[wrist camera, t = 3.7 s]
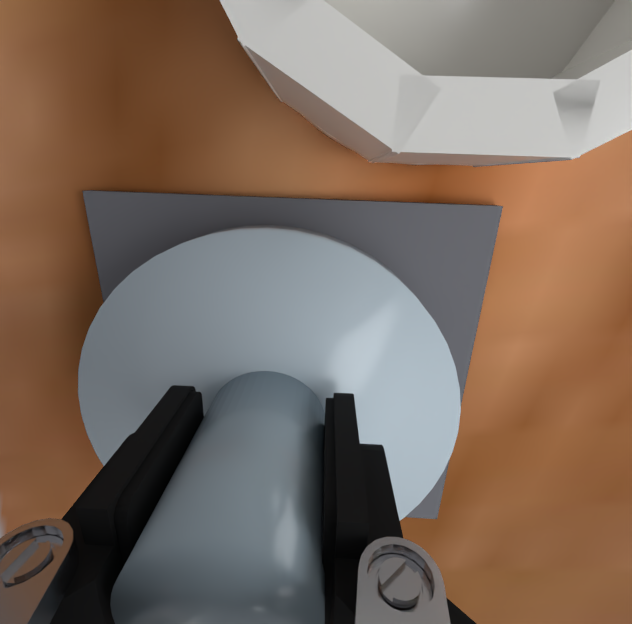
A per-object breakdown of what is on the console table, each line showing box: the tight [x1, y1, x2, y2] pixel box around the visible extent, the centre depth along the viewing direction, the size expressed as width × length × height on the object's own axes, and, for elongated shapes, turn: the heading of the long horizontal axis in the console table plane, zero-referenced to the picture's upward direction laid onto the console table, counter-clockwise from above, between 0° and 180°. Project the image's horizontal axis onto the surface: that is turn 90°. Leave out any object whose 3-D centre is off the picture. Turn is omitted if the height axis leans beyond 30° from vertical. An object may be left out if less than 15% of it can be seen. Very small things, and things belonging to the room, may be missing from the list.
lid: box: [78, 225, 461, 624], centre depth 9 cm, size 11×11×6 cm
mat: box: [83, 190, 503, 519], centre depth 12 cm, size 12×12×1 cm
